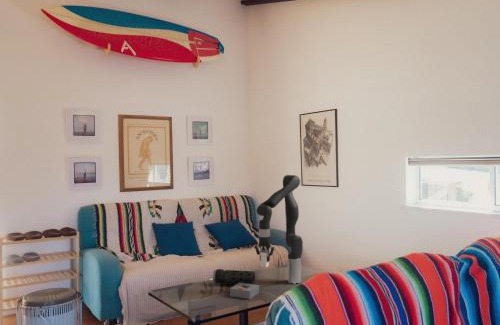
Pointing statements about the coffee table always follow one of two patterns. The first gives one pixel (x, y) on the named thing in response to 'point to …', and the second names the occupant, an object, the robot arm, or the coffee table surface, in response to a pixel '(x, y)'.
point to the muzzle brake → (233, 276)
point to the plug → (264, 259)
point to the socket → (244, 290)
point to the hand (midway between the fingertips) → (264, 261)
